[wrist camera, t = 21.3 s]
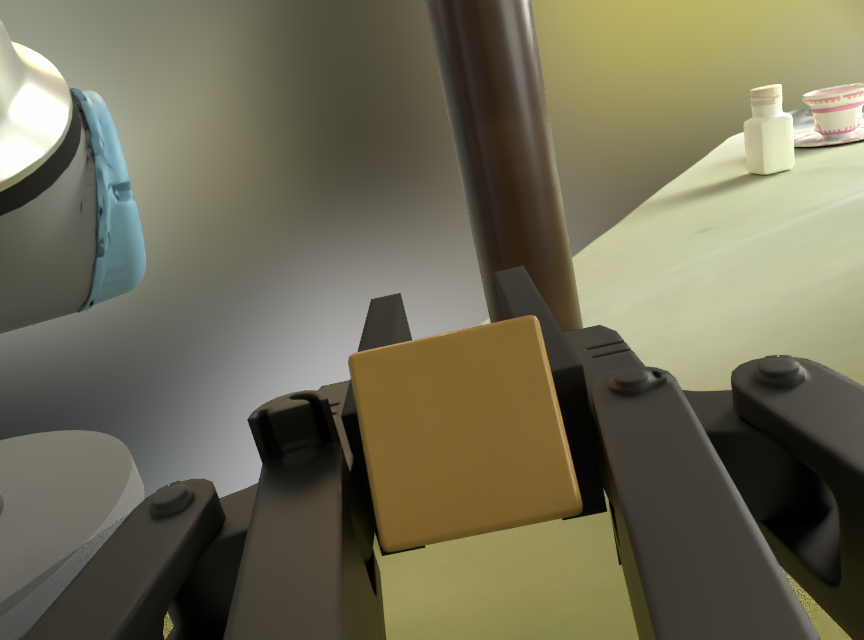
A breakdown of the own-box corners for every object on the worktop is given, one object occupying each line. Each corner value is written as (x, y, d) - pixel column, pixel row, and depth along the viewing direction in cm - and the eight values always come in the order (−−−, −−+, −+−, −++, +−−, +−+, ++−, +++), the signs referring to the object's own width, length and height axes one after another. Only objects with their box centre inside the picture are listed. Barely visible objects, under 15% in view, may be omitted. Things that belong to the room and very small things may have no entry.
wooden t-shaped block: (271, 576, 8) (236, 327, 8) (431, 488, 26) (416, 411, 26) (701, 491, 7) (632, 240, 8) (559, 462, 26) (541, 385, 26)
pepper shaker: (776, 165, 80) (772, 83, 77) (797, 168, 76) (793, 82, 73) (744, 173, 80) (738, 91, 77) (763, 176, 76) (758, 90, 73)
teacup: (905, 134, 81) (906, 81, 79) (794, 153, 85) (792, 103, 83) (874, 124, 91) (874, 77, 89) (777, 141, 95) (774, 96, 93)
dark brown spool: (424, 459, 34) (242, -248, 24) (507, 372, 41) (393, -191, 32) (620, 484, 28) (482, -418, 19) (674, 378, 36) (595, -299, 27)
